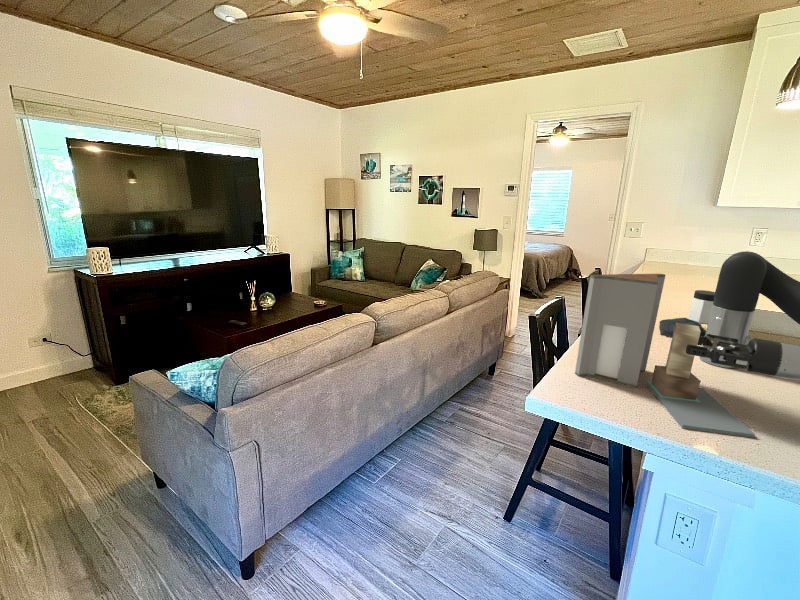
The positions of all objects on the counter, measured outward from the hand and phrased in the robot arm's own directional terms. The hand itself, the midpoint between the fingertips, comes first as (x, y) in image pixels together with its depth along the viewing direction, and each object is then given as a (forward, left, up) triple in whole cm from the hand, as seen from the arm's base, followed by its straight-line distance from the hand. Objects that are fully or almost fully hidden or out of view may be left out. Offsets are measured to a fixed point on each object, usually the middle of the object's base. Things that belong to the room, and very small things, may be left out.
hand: (685, 343), depth 89 cm
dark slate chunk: (-26, -54, -15) cm, 62 cm away
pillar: (0, 0, -8) cm, 8 cm away
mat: (-2, +6, -14) cm, 15 cm away
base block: (0, 0, -13) cm, 13 cm away
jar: (-39, -71, -14) cm, 83 cm away
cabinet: (+10, -6, -14) cm, 18 cm away
